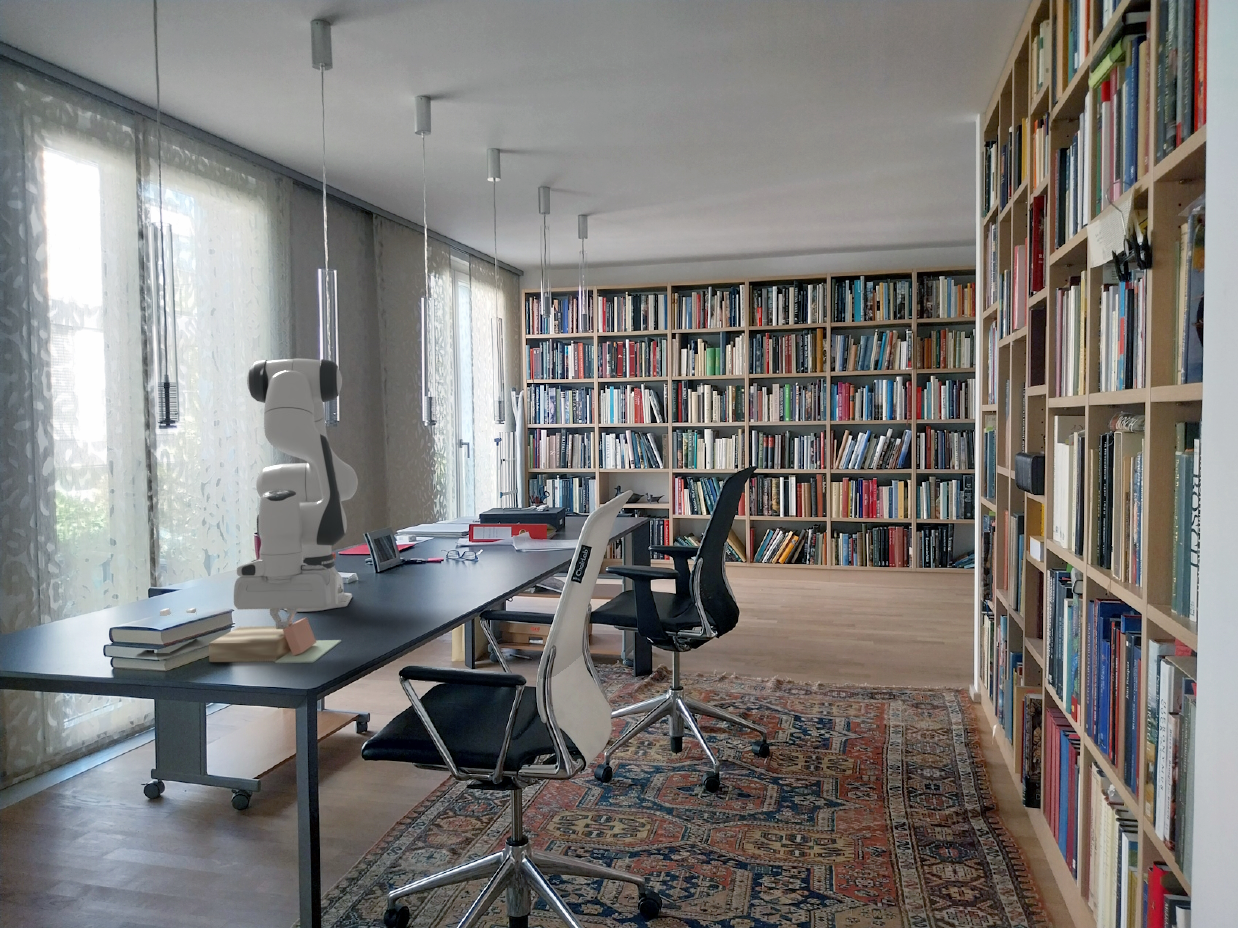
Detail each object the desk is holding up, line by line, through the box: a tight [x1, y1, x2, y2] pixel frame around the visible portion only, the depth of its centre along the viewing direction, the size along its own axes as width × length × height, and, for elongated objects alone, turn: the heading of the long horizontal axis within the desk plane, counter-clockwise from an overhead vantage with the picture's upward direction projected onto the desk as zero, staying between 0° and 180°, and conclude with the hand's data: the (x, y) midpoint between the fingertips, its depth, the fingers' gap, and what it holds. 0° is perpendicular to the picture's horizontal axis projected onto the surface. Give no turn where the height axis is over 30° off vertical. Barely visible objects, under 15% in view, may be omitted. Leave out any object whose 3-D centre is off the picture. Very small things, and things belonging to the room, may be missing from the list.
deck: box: [208, 625, 291, 663], centre depth 196 cm, size 15×14×4 cm
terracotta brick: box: [283, 617, 316, 656], centre depth 196 cm, size 9×6×2 cm
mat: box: [274, 639, 342, 664], centre depth 196 cm, size 18×8×1 cm, turn 179°
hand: (284, 628), depth 196 cm, fingers closed
